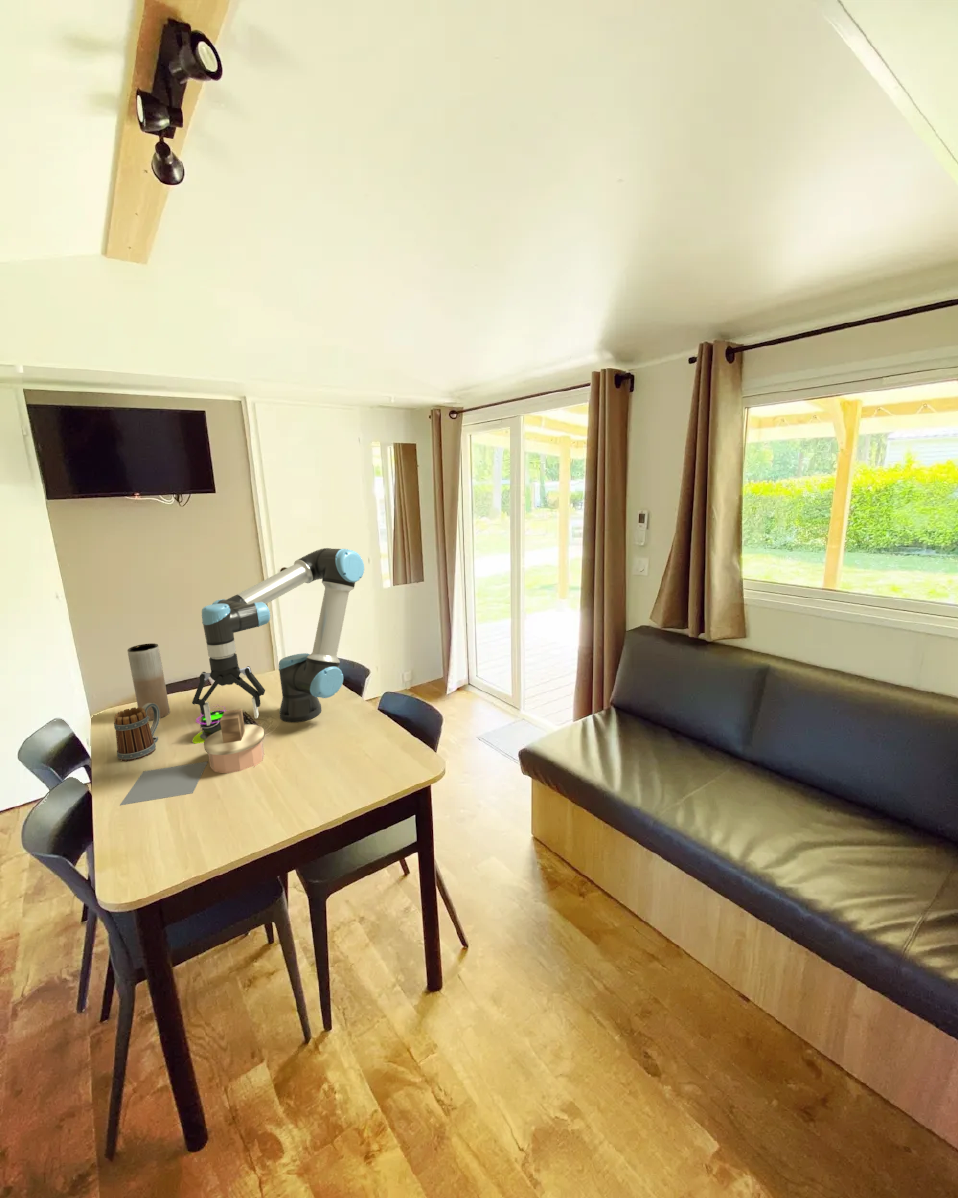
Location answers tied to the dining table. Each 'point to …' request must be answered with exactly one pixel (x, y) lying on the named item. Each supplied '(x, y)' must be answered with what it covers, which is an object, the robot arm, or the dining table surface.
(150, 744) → the mug
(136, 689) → the vase
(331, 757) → the dining table surface
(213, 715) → the toy cauldron
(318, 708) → the robot arm
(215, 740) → the lid
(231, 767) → the bowl
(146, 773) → the mat
